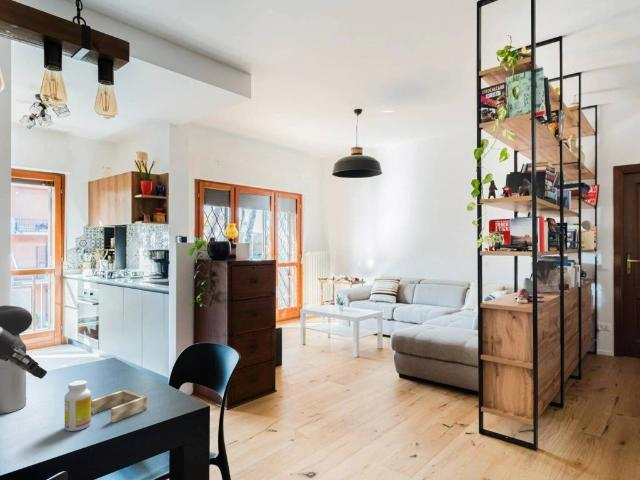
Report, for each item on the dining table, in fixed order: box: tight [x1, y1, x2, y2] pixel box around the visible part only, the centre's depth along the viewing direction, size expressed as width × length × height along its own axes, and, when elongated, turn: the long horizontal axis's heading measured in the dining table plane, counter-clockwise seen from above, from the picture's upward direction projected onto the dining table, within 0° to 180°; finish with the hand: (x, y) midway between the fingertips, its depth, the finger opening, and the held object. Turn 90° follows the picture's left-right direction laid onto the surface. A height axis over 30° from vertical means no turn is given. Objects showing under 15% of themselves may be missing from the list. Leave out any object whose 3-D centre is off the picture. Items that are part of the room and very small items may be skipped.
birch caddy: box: [91, 389, 148, 423], centre depth 129 cm, size 11×12×4 cm
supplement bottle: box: [64, 379, 92, 432], centre depth 118 cm, size 7×7×13 cm
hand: (41, 374), depth 110 cm, fingers closed
